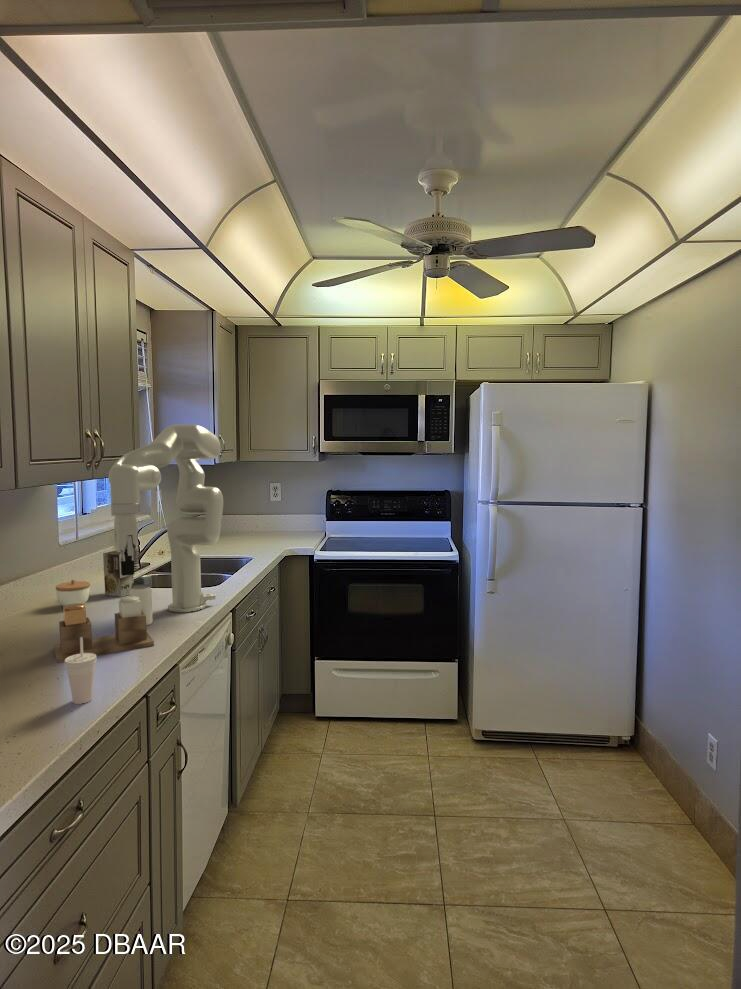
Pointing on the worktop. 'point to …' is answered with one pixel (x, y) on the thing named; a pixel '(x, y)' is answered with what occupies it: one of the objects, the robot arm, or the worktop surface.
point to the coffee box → (115, 575)
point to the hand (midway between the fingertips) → (127, 574)
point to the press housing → (126, 637)
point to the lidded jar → (73, 592)
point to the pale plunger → (129, 607)
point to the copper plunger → (74, 614)
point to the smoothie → (81, 675)
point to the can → (144, 600)
